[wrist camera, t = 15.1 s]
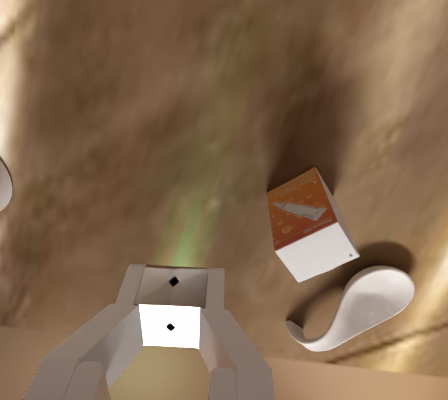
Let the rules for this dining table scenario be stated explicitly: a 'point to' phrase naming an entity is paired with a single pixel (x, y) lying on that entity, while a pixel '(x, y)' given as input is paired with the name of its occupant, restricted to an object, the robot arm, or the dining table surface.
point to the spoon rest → (362, 306)
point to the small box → (308, 227)
